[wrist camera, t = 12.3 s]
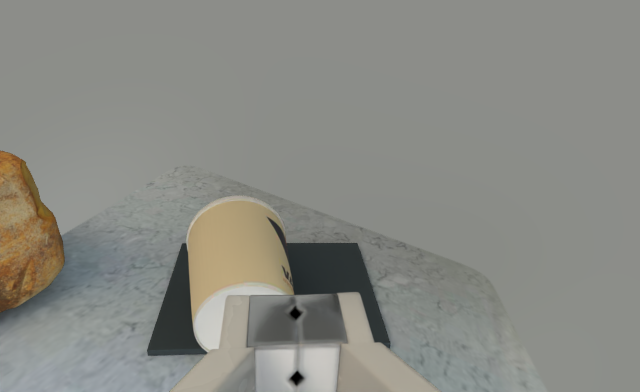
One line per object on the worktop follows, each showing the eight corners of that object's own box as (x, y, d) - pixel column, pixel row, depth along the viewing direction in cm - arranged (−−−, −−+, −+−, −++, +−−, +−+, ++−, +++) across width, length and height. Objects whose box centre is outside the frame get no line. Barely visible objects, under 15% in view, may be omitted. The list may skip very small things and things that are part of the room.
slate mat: (357, 247, 52) (357, 242, 52) (389, 348, 38) (390, 343, 38) (182, 247, 50) (182, 243, 50) (147, 355, 36) (146, 350, 35)
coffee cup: (318, 276, 32) (291, 195, 42) (183, 276, 30) (189, 189, 40) (297, 365, 36) (277, 272, 47) (178, 371, 34) (184, 271, 44)
